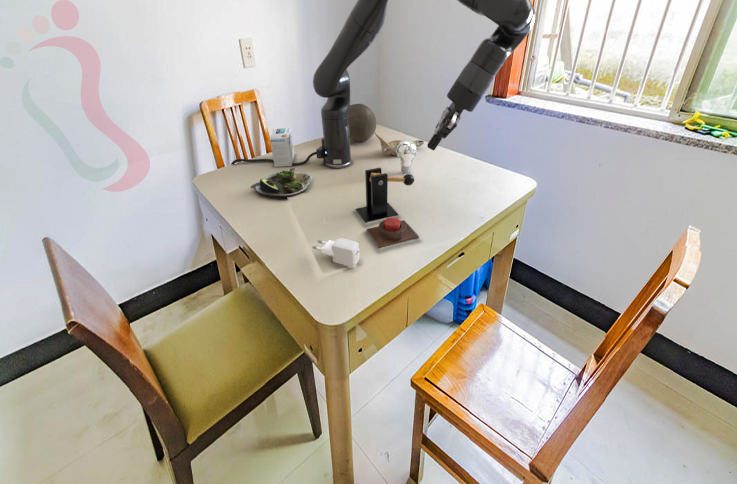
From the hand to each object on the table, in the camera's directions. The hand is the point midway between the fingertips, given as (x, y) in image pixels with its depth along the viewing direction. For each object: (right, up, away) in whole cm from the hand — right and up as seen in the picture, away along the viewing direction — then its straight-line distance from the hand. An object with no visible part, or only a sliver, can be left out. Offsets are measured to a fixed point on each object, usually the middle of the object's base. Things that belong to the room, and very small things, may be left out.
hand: (430, 148), depth 98 cm
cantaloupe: (-20, +17, +58) cm, 63 cm away
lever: (-10, -9, +5) cm, 14 cm away
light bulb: (-3, -1, +31) cm, 31 cm away
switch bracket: (-14, -17, +9) cm, 24 cm away
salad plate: (-44, -7, +25) cm, 51 cm away
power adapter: (-24, -29, -8) cm, 38 cm away
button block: (-10, -24, 0) cm, 26 cm away
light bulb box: (-48, +6, +43) cm, 64 cm away
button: (-10, -21, -2) cm, 23 cm away
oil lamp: (-4, +9, +46) cm, 48 cm away
